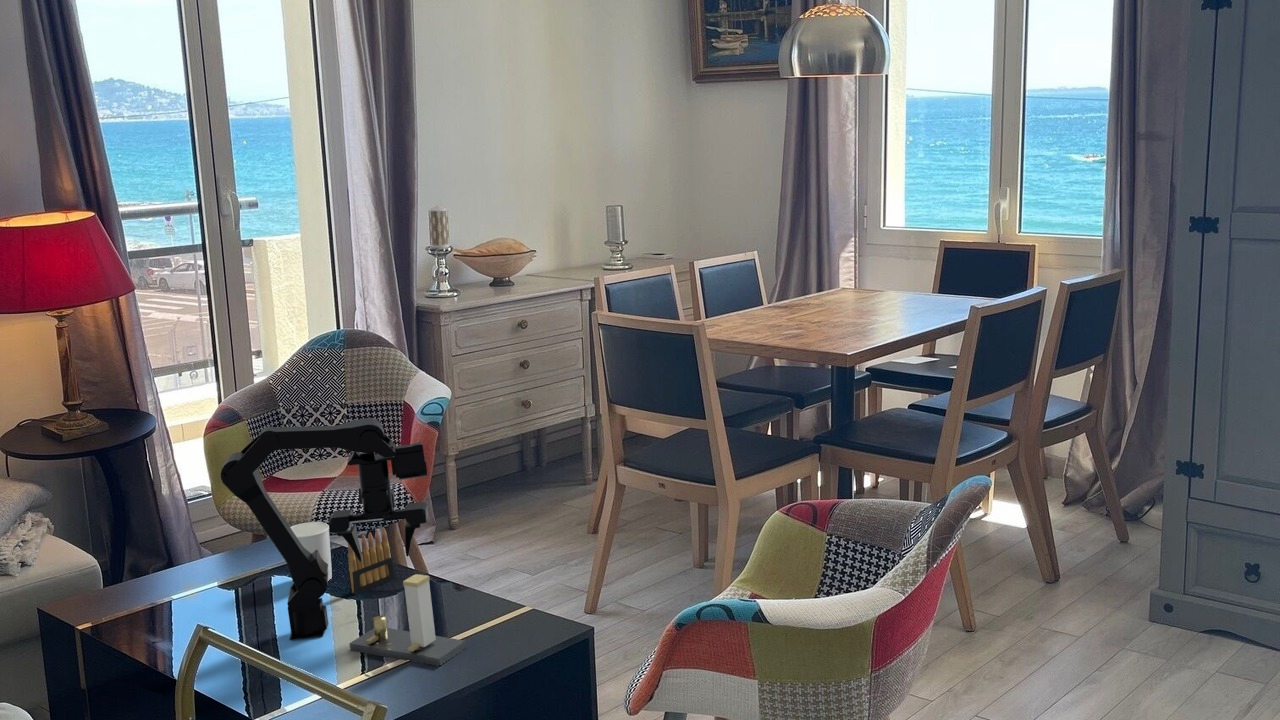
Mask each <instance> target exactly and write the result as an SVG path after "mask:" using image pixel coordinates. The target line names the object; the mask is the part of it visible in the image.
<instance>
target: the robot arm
mask: <svg viewBox="0 0 1280 720" xmlns="http://www.w3.org/2000/svg"><path fill="white" fill-rule="evenodd" d="M329 448H330V449H333V448H334V449H335V448H337V449H341V450H346V451H349V452H352V453H351V454H350V456H349V457H348V458H347V466H355V465H357V468H358V469H357V470H358V480H359V486H360V487H359V488H358V503H359V504H360V505H362V508H363V510H362V511H363V513H356V514H355V513H354V511H353V509H340V510H334V511H333V513H332V514H331V516H330V518H329V521H328V525H329V533H332V534H334V533H337V534H336V535H337V537H343V538H344V540H345V542H347V545H348V544H349V545H350V546H351V548H352V550H353V551H354V554H355V555H356V556H357V558H358V560H359V561H362V547H361V544H359V543H360V540H359V537H358V536H359V535H358V530H357V525H358V524H359V525H360V524H369V523H371V524H372V523H377V522H379V523H381V522H387V521H389V522H390V521H399V520H405V522H406V523H405V526H404V531H405V535H404V539H405V540H404V541H405V542H404V543H405V544H404V545H405V546H404V547H405V550H404V551H405V555H406V557H409V555H410V551H411V545H412V541H413V540H412V539H413V536H414V534H415V530H416V529H420V528H421V526H422V525H423V524H425V523H427V522H428V518H429V507H428V503H426V502H425V501H420V502H411V503H406V507H405V508H403V509H395V507H396V501H395V491H394V489H391V488H392V487H391V480H390V472H389V471H390V470H389V463H388V461H390V462H391V471H392V476H393V477H394V476H395V478H398V480H399V481H402V480H410V479H418V478H423V477H424V478H425V477H428V467H427V460H426V455H425V452H424V445H423V442H414V443H411V444H403V445H396V444H395V442H394V441H393V440H391V438H390V437H389V436H388V435H387V434H385V430H384V426H383V425H382V423H381V422H380V421H379V420H378V419H376V418H374V417H373V418H372V417H365V418H360V419H355V420H351V421H347V422H345V423H342V424H336V425H322V426H321V425H319V426H318V425H317V426H316V425H315V426H312V425H311V426H286V427H280V426H279V427H276V426H275V427H274V426H266V427H264V428H263V429H262V430H261V431H260V433H259V434H258V435H257V436H256V437H255V438H254V439H252V441H250V442H249V443H248V444H247V445H245V447H244V448H242V450H241V451H240V452H234V453H231V454H230V455H228V456H227V458H226V460H225V461H224V464H223V465H222V468H221V470H220V479H221V482H222V483H223V485H224V486H225V487H226V488H227V489H228V490H229V491H230V492H231V493H232V494H233V495H234V496H235V497H236V498H238V499H239V500H241V501H242V502H243V503H245V504H246V505H247V506H248V508H249V509H250V510H251V512H252V513H253V515H254V517H255V518H256V519H257V521H258V523H259V524H260V526H261V527H262V528H263V530H264V531H265V532H266V534H267V536H268V537H269V539H270V540H271V542H272V543H273V544H274V547H276V549H277V551H278V552H279V554H280V555H281V557H282V558H283V559H284V561H285V562H286V565H287V567H288V570H289V573H290V577H291V580H292V582H294V583H293V584H292V585H291V586H290V587H289V590H288V591H289V592H288V598H287V612H288V620H289V627H290V635H289V637H288V638H289V640H290V641H293V640H303V639H312V638H320V637H323V636H324V634H325V633H326V631H327V629H328V626H329V618H328V617H329V616H328V610H327V609H328V608H327V606H326V604H325V605H324V602H323V598H322V597H323V596H325V595H324V594H325V593H326V591H327V588H328V571H327V570H328V564H327V563H326V562H324V561H323V559H322V558H321V556H320V554H319V551H318V550H315V551H314V552H313V553H310V552H309V551H308V550H306V549H305V548H304V547H303V546H302V544H301V543H300V541H299V540H298V538H297V537H296V535H295V534H294V532H293V531H292V529H291V528H290V527H291V526H290V525H289V523H288V522H287V520H286V519H285V518H284V516H283V514H282V513H281V512H280V510H279V509H278V507H277V506H276V504H275V502H274V501H273V499H272V498H271V497H270V495H269V494H268V492H267V490H266V488H265V486H264V483H263V479H262V477H261V474H260V471H259V468H260V466H261V465H262V464H263V462H265V460H267V458H269V455H271V454H272V453H273V451H276V450H282V451H283V450H300V449H302V450H304V449H305V450H306V449H309V450H310V449H329ZM360 547H361V548H360Z"/></svg>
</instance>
